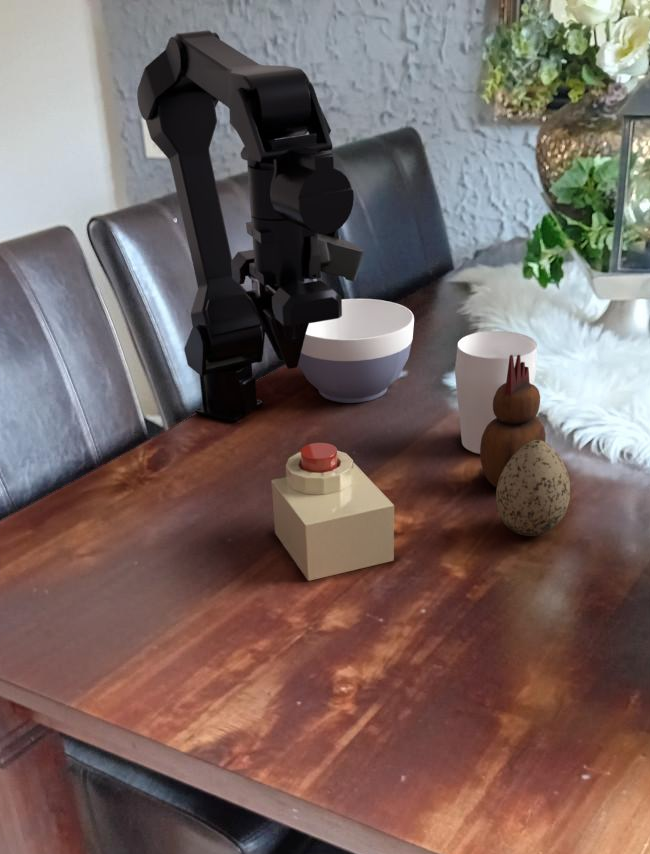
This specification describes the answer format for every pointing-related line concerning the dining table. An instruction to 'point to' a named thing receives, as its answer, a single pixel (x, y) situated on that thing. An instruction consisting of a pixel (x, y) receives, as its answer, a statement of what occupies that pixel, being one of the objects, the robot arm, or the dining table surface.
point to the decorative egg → (533, 490)
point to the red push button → (319, 458)
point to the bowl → (358, 350)
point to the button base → (332, 519)
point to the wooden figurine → (511, 421)
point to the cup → (486, 377)
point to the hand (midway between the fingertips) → (287, 363)
